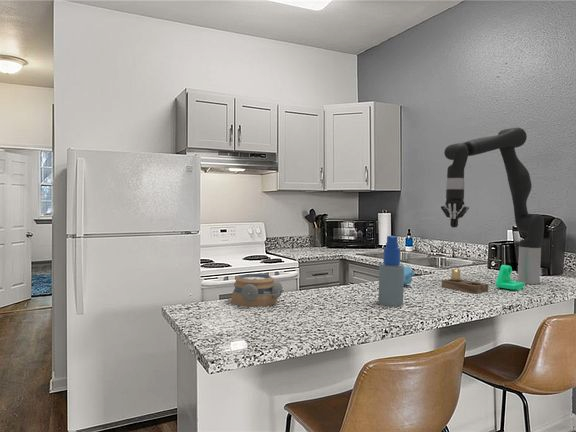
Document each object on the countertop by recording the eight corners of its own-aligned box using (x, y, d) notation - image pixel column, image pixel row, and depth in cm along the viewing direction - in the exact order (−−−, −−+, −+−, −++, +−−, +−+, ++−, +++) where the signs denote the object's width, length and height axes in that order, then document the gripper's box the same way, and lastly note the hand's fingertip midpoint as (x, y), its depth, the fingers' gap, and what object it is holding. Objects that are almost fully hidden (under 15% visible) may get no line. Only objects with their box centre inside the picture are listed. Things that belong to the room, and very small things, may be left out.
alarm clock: (265, 271, 167) (294, 281, 146) (265, 294, 167) (293, 308, 147) (224, 274, 158) (248, 285, 138) (224, 298, 159) (248, 313, 138)
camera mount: (513, 292, 181) (514, 268, 180) (495, 288, 187) (496, 265, 186) (525, 288, 188) (526, 265, 188) (507, 285, 194) (508, 263, 194)
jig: (454, 284, 193) (454, 278, 193) (488, 291, 181) (488, 284, 180) (441, 287, 188) (441, 280, 187) (475, 293, 175) (475, 286, 174)
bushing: (453, 286, 190) (454, 268, 190) (461, 287, 187) (462, 269, 187) (449, 287, 188) (450, 269, 188) (456, 288, 185) (457, 270, 185)
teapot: (422, 286, 188) (423, 264, 187) (402, 290, 179) (403, 266, 179) (390, 280, 202) (390, 259, 202) (370, 283, 193) (371, 261, 193)
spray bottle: (379, 299, 161) (381, 234, 160) (403, 302, 158) (405, 235, 157) (376, 305, 152) (378, 236, 151) (402, 307, 149) (404, 237, 149)
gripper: (473, 188, 184) (472, 228, 185) (446, 189, 195) (445, 226, 195) (464, 188, 180) (463, 228, 180) (437, 188, 190) (436, 226, 191)
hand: (454, 227), depth 188 cm, fingers closed
